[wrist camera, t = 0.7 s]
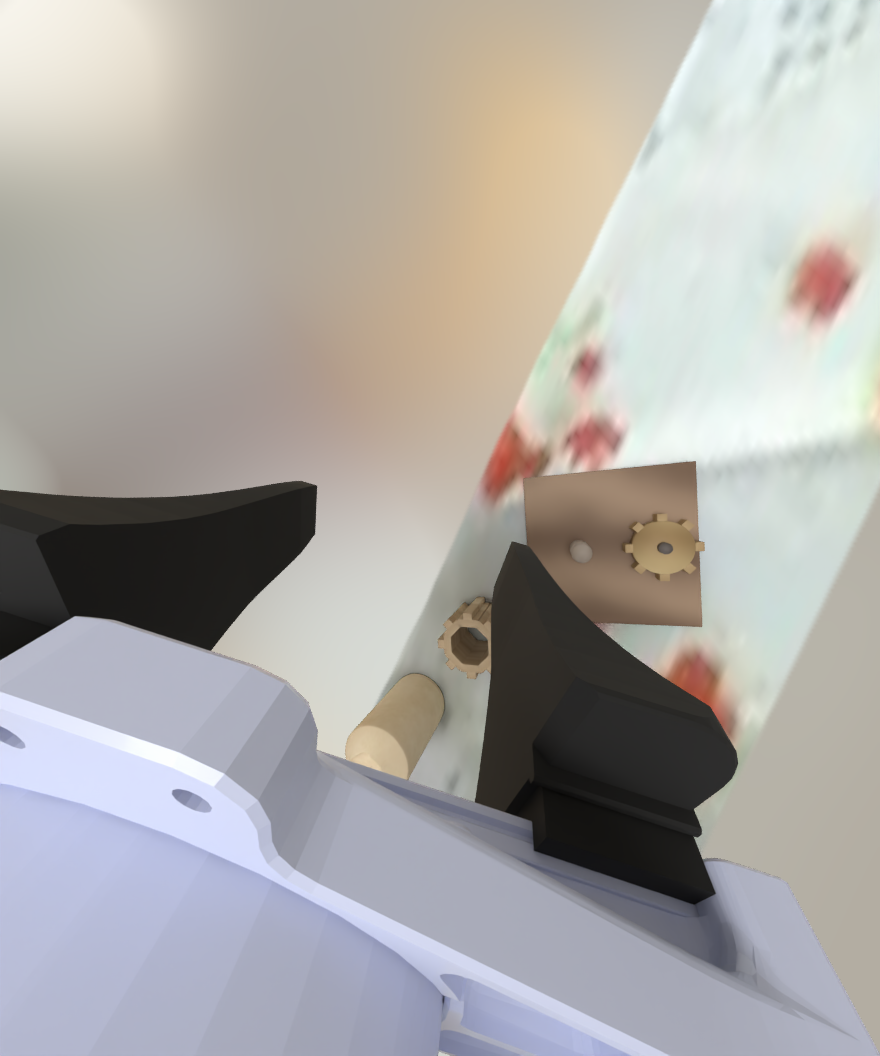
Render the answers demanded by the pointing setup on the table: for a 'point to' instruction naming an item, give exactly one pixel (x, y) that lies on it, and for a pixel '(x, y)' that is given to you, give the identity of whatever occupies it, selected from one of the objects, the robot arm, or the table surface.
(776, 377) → the table surface
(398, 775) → the candle
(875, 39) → the table surface
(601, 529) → the gear board
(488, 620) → the maple gear
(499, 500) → the table surface
